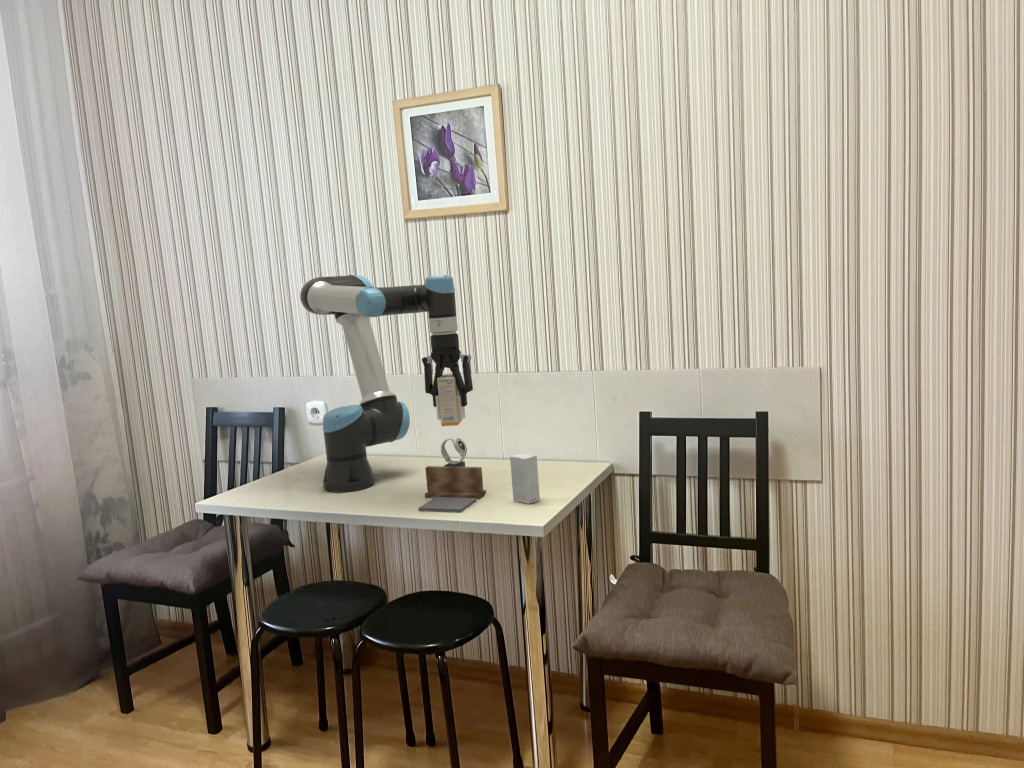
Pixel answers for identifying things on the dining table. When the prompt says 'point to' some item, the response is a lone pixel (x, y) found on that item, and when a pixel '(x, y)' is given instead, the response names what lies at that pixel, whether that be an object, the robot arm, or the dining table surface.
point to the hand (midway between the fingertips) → (451, 418)
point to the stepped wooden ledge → (454, 482)
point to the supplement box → (448, 400)
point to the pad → (447, 504)
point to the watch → (459, 447)
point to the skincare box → (525, 478)
